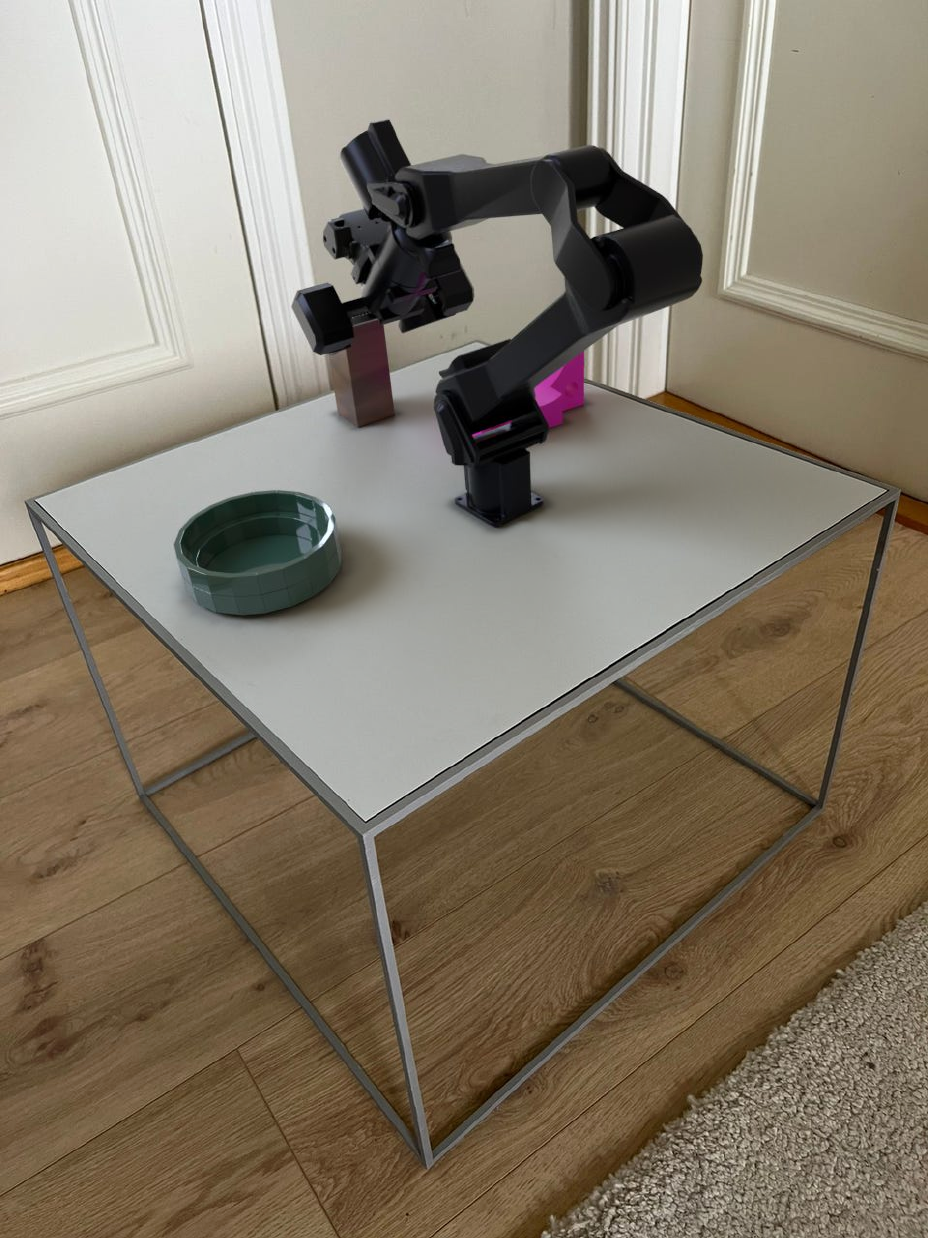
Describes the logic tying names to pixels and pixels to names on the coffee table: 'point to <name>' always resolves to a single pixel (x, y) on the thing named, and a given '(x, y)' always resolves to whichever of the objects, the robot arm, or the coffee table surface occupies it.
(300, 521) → the teal shallow bowl
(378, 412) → the walnut block
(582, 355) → the toy block
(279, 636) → the coffee table surface
